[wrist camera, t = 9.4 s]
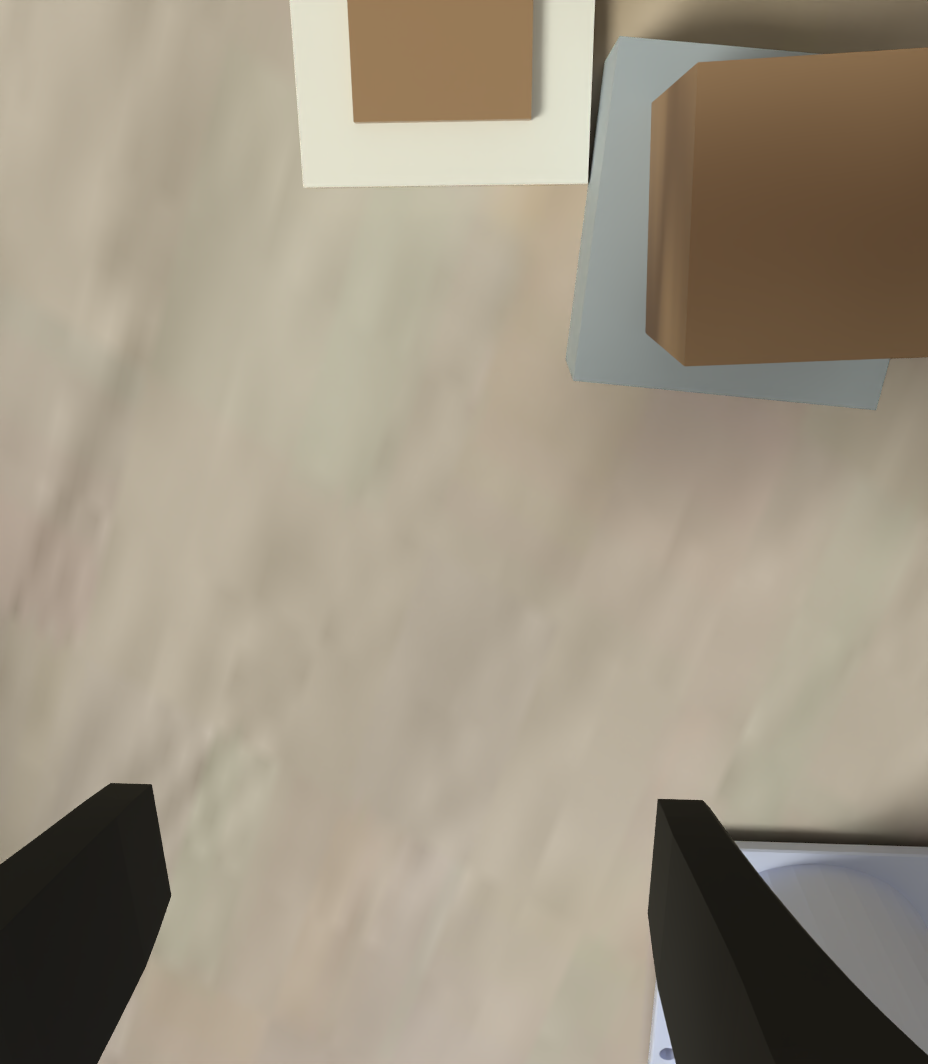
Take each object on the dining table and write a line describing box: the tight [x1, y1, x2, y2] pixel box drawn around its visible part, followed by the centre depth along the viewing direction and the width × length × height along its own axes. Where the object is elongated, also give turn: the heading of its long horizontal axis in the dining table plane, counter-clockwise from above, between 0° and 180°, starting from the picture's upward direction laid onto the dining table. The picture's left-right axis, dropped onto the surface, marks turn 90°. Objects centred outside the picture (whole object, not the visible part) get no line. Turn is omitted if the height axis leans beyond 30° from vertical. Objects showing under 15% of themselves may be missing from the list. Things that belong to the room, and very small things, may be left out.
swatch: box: [290, 0, 595, 188], centre depth 16 cm, size 6×6×1 cm
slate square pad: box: [566, 36, 890, 410], centre depth 17 cm, size 6×6×3 cm
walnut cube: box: [645, 47, 928, 366], centre depth 13 cm, size 4×4×4 cm
